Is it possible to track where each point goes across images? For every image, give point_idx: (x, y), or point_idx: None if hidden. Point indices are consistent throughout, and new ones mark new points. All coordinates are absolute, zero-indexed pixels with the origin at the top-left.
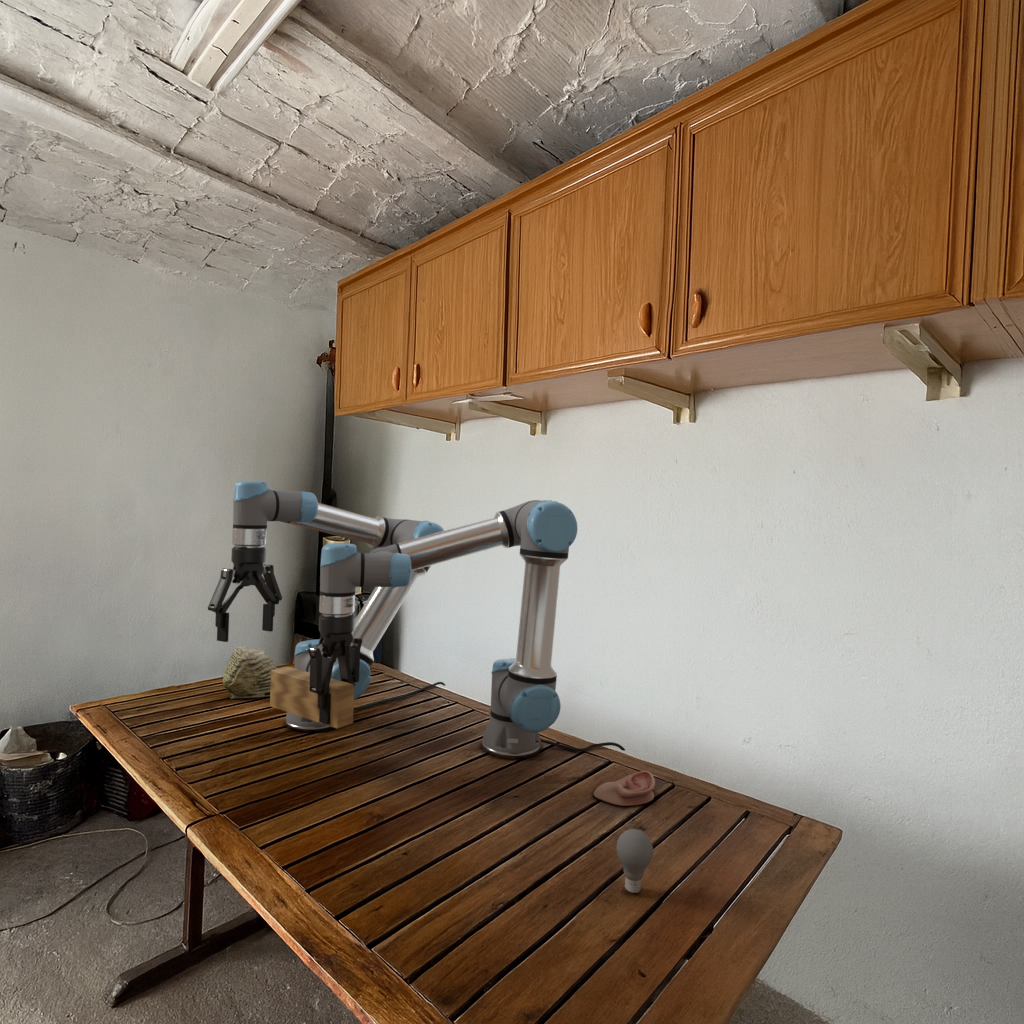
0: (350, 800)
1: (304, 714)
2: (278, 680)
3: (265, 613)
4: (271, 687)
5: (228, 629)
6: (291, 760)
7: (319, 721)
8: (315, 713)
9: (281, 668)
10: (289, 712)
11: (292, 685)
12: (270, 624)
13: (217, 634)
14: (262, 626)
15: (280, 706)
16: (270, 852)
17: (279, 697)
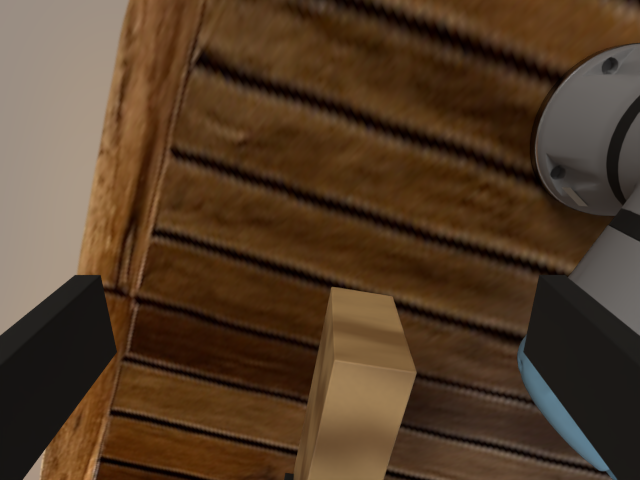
0: (287, 429)
1: (304, 424)
2: (324, 380)
3: (632, 406)
4: (331, 326)
5: (66, 417)
6: (370, 250)
7: (285, 475)
8: (296, 468)
9: (377, 376)
10: (315, 367)
11: (311, 440)
12: (552, 387)
13: (47, 303)
14: (556, 292)
15: (322, 338)
16: (112, 427)
17: (323, 349)
